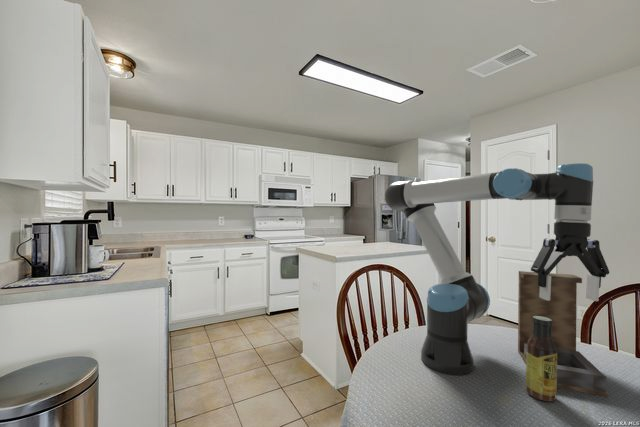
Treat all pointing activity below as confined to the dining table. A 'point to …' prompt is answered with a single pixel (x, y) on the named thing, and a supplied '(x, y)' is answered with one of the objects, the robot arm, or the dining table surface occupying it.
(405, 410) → the dining table surface
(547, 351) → the sauce bottle
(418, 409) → the dining table surface
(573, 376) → the stand
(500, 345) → the dining table surface
